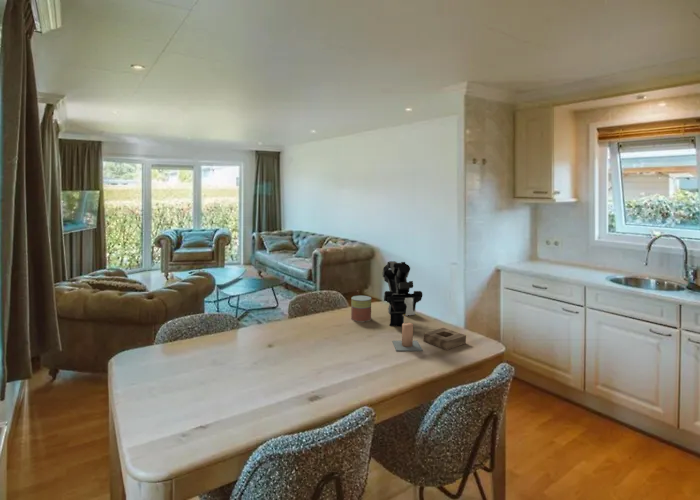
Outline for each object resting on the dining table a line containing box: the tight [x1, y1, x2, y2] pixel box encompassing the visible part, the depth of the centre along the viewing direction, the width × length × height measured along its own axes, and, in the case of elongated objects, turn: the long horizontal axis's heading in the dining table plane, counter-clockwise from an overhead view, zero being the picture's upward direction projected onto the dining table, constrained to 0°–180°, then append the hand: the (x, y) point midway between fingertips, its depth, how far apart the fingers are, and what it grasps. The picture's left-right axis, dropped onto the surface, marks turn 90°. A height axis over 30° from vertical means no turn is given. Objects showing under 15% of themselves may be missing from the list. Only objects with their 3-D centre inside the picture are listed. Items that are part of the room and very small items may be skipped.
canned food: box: [350, 295, 372, 323], centre depth 237 cm, size 11×11×12 cm
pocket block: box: [423, 327, 467, 351], centre depth 202 cm, size 14×14×4 cm
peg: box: [401, 322, 414, 347], centre depth 195 cm, size 5×5×10 cm
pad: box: [391, 339, 424, 352], centre depth 196 cm, size 12×12×1 cm
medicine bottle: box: [403, 292, 417, 317], centre depth 247 cm, size 7×7×12 cm
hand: (404, 311), depth 205 cm, fingers open, 9 cm apart
